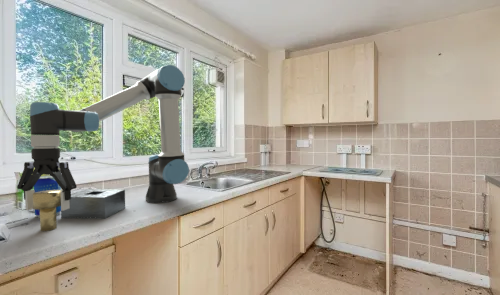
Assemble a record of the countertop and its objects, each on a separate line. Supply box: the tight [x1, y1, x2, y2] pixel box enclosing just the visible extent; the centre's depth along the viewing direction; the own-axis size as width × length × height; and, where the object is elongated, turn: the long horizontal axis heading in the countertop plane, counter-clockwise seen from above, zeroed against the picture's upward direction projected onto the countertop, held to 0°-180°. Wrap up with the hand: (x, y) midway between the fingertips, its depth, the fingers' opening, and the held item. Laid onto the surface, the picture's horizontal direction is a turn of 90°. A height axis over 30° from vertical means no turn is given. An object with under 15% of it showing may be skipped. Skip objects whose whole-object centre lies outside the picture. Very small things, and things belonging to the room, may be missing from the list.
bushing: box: [33, 189, 62, 232], centre depth 83 cm, size 8×8×13 cm
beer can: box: [33, 175, 62, 219], centre depth 97 cm, size 8×8×16 cm
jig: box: [60, 188, 126, 220], centre depth 101 cm, size 18×14×8 cm
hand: (47, 209), depth 83 cm, fingers open, 12 cm apart
